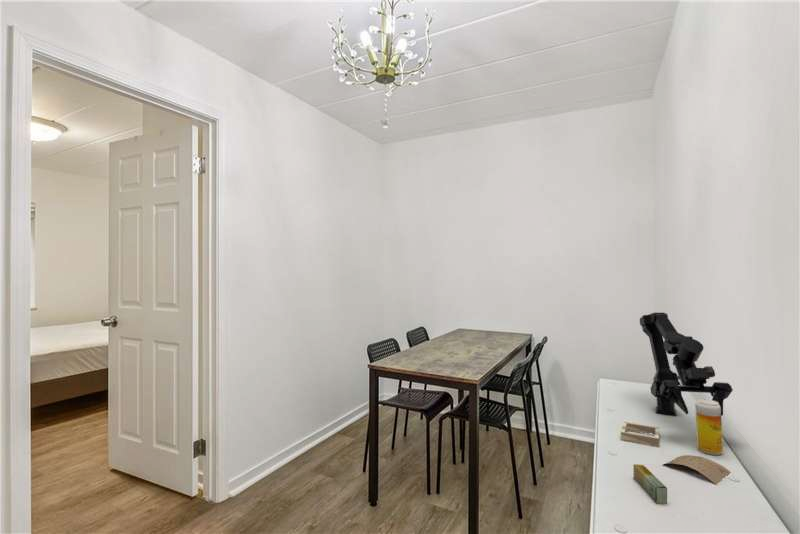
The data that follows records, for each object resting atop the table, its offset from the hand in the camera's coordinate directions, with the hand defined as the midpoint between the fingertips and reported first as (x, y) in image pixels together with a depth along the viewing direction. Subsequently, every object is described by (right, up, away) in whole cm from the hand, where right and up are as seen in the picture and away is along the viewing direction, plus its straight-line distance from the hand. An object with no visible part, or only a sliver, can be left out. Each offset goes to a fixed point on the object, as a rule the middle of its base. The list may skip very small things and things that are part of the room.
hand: (704, 414), depth 122 cm
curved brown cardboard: (-12, -11, -13) cm, 21 cm away
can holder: (-15, -11, +8) cm, 20 cm away
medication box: (-31, -11, -22) cm, 40 cm away
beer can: (0, -11, -3) cm, 11 cm away
